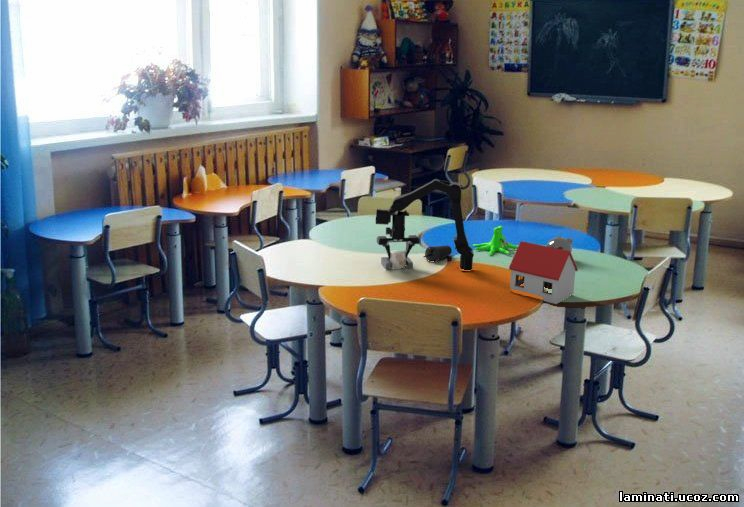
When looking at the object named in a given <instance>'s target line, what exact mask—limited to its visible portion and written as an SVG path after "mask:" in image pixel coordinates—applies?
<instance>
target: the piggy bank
mask: <svg viewBox="0 0 744 507" xmlns="http://www.w3.org/2000/svg"><path fill="white" fill-rule="evenodd" d="M573 243H574V240H573V238H572V237H568V238H565V237H562V236H561V235H557V236H556V237H554V238H551V239H550V240H549V241H548V242H547V244H546V246H547V247H552V248H557V249H558V247H563V250H567V251H570V252H571V253H572V252H573V247H572V244H573Z"/></svg>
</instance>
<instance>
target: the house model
mask: <svg viewBox="0 0 744 507" xmlns="http://www.w3.org/2000/svg"><path fill="white" fill-rule="evenodd" d="M517 246H518V248H517V249H516V250H515V253H514V256H512V260H511V262H510V264H509V266H508V270H510V284H509V285H510V286H509V289H513V290H518V291H522V292H526V293H530V294H534V295H538V296H541V297H542V298H543V300H544V301H543V302H546V303H550V304H554V305H558V304H559V303H561V302H562V301H561V300H563V299H565V298H567V297H569V296H570V295H572V294H573V295H574V293H575V292H574V291H575V280H576V278H575V277H576V272H578V267H577V265H576V261H575V259H574V257H573V254H572V252H570V251H567V250H563V247H558V249H557V248H552V247H547V245H541V244H537V243H532V242H527V241H522V240H520V242H519V244H518V245H517ZM523 283H524V286H520V285H521V284H523ZM544 287H545V288H548V289H552V293H548V291H547V292H544ZM569 298H570V297H569ZM567 299H568V298H567ZM565 300H566V299H565ZM560 301H561V302H560ZM563 301H564V300H563Z"/></svg>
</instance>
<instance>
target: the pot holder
mask: <svg viewBox="0 0 744 507" xmlns="http://www.w3.org/2000/svg"><path fill="white" fill-rule="evenodd" d="M380 258H381V259H380V264H381V265H382V267H383V269H384V270H385V269H386V270H385V271H389V270H391V268H390V259H389V258H388V256H385V257H384V256H382V257H380ZM405 260H406V266H407V267H406V266H405V267H406V269H408V270H413V269H414V268H413V267H414V262H413V261H412V259H410V258H409V255H408V256H407V258H405ZM412 268H413V269H412Z"/></svg>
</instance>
